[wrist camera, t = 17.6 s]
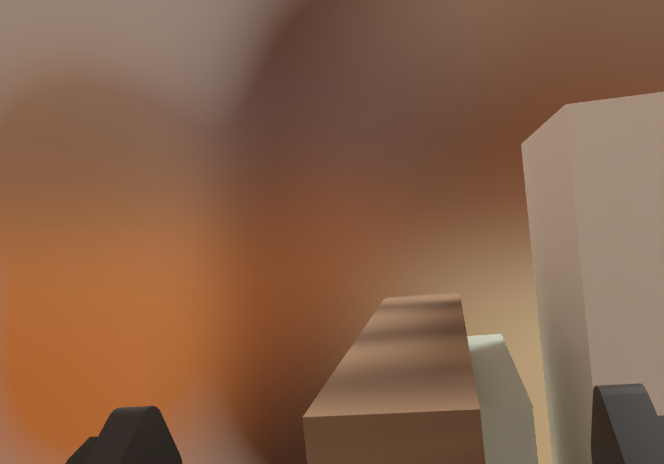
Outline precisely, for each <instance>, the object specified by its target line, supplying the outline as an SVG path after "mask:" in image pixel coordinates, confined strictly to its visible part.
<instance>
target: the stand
mask: <svg viewBox="0 0 664 464" xmlns="http://www.w3.org/2000/svg"><path fill="white" fill-rule="evenodd" d="M521 146H522V157H523V167H524V177H525V188H526V197H527V208H528V218H529V228H530V238H531V248H532V259H533V268H534V279H535V289H536V298H537V310H538V319H539V330H540V339H541V350H542V360H543V370H544V381H545V391H546V401H547V411H548V421H549V430H550V441H551V452H552V462H553V464H592V457H591V425H592V402H593V389H594V386H598V385H618V384H638V383H641V384H643V386H644V387H645V388H646V390H647V392H648V394H649V397H650V399H651V401H652V404H653V406H654V408H655V411H656V413H657V415H658V416H662V415H664V92H659V93H651V94H644V95H636V96H628V97H620V98H612V99H605V100H597V101H590V102H582V103H574V104H567V105H564V106H563V107H562V108H561V109H560V110H559V111H558V112H557V113H555V114H554V115H553V116H552V117H551V118H550V119H549V120H548V121H547V122H545V123H544V124H543V125H542V126H541V127H540V128H539V129H538V130H537V131H536V132H535V133H533V134H532V135H531V136H530V137H529V138H528V139H527V140H525V142H523V143H522V144H521ZM467 339H468V344H469V350H470V355H471V361H472V367H473V372H474V378H475V384H476V389H477V395H478V401H479V406H480V414H481V424H482V434H483V444H484V454H485V464H538V457H537V447H536V437H535V427H534V416H533V406H532V403H531V401H530V399H529V396H528V394H527V392H526V390H525V388H524V385H523V383H522V381H521V378H520V376H519V374H518V371H517V369H516V367H515V365H514V362H513V360H512V358H511V356H510V353H509V351H508V349H507V347H506V345H505V342H504V340H503V337H502V335H501V334H494V335H480V336H467Z"/></svg>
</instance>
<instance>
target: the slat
mask: <svg viewBox="0 0 664 464" xmlns="http://www.w3.org/2000/svg"><path fill="white" fill-rule="evenodd" d="M303 426H304V436H305V445H306V455H307V464H485V454H484V444H483V434H482V424H481V414H480V406H479V401H478V395H477V389H476V384H475V378H474V372H473V367H472V361H471V355H470V350H469V344H468V339H467V333H466V327H465V322H464V316H463V310H462V305H461V299H460V294H459V292H455V293H443V294H430V295H418V296H405V297H392V298H385V299H384V300H383V302H382V303H381V305H380V306H379V307H378V309H377V310H376V312H375V313H374V315H373V316H372V318H371V319H370V321H369V322H368V323H367V325H366V326H365V328H364V329H363V331H362V332H361V334H360V335H359V337H358V338H357V339H356V341H355V342H354V344H353V345H352V347H351V348H350V349H349V351H348V352H347V354H346V355H345V357H344V358H343V360H342V361H341V363H340V364H339V365H338V367H337V368H336V370H335V371H334V373H333V374H332V375H331V377H330V379H329V380H328V381H327V383H326V384H325V386H324V387H323V388H322V390H321V391H320V393H319V394H318V396H317V397H316V399H315V400H314V402H313V403H312V404H311V406H310V407H309V409H308V410H307V412H306V413H305V415H304V416H303Z"/></svg>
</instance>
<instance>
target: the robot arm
mask: <svg viewBox="0 0 664 464" xmlns="http://www.w3.org/2000/svg"><path fill="white" fill-rule="evenodd" d="M591 457H592V464H664V415H662V416H658V415H657V413H656V411H655V408H654V406H653V404H652V401H651V399H650V397H649V394H648V392H647V390H646V388H645V387H644V386H643V384H641V383H638V384H618V385H598V386H594V389H593V402H592V425H591ZM66 464H182V460H181V456H180V454H179V451H178V449H177V447H176V445H175V443H174V440H173V438H172V436H171V434H170V432H169V429H168V428H167V425H166V423H165V421H164V419H163V416H162V414H161V412H160V410H159V409H158V408H157V407H155V406H144V407H124V408H117V409H115V410H114V411H113V412H112V413H111V414H110V416H109V418H108V419H107V421H106V423H105V425H104V427H103V429H102V431H101V433H100V434H99V436H98V437H89V438H88V439H87V441H86V442H85V443H84V444H83V445H82V446H81V447H80V448H79V449H78V450H77V451H76V452H75V453H74V454H73V455H72V456H71V457H70V458H69V459H68V460H67V462H66Z"/></svg>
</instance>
